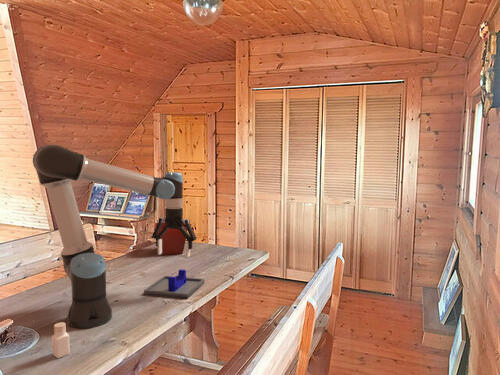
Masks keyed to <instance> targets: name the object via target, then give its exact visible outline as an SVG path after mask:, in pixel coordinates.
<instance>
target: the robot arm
mask: <svg viewBox="0 0 500 375" xmlns="http://www.w3.org/2000/svg"><path fill="white" fill-rule="evenodd" d="M32 165H33V167H34V169H35V171H36V174H37V176H38V177H37V178H38V180H39V184H40V186H42V187H43V188H46V191H47V195H48V198H49V202H50V205H51V208H52V211H53V217H54V219H55V223H56V225H57V229H58V233H59V236H60V240H61V243H62V246H63V247H62V250H61V251H60V255H61V258H62V262H63V270H64V273H65V274H66V275H67V277H68V278H69V280H70V282H71V304H70V307H69V311H68V314H67V324H68V326H69V327H72V328H75V329H76V328H77V329H89V328H94V327H98V326H102V325H103V324H106V323H107V322H109V321H111V319H112V318H113V309H112V308H111V305H110V302H109V299H108V297H107V275H106V272H107V271H106V267H107V263H106V260H105V257H104V256H103V255H101V254H100V253H95V249H94V245H93V243H92V242H90V241H88V239H87V236H86V232H85V229H84V225H83V222H82V217H81V213H80V211H79V206H78V203H77V200H76V195H75V193H74V188H73V185H72V181H75V182H78V181H80V180H83V181H86V182H87V181H88V182H91V183H97V184H100V185H104V186H109V187H111V188H112V187H114V188H117V189H120V190H121V189H122V190H124V191H125V190H126V191H130V192H134V193H137V194H138V196H145V197H147V196H150V197H152V198H153V197H154V198H158V199H161V200H165V203H164V207H165V209H164V210H165V212H164V213H165V214H164V215H165V218H164V217H163V216H162V217H159V218H158V222H157V223H158V224H157V226H156V229H155V231H154V230H153V232H152V236H151V238H152V239H154V240H155V247H157V255H160V256H161V254H162V239H160V238H161V237H162V236H163V234H164V233H165V232H166V231H167V230H168V228H170V229H178V230H180V231H181V233H182V234H183V235H184V237H185V238H186V242H185V246H186V248H185V249H186V251H185V252H186V256H185V257H186V258H188V257H190V256H191V250H192V249H193V242H194V241H197V236H196V234H195V232H194V230H193V227H192V225H191V223H190V222H191V221H190V218H187V219H186V218H185V219H183V217H184V215H183V214H184V213H183V207H184V206H183V204H184V201H183V200H184V199H183V193H184V192H183V191H184V190H183V189H184V188H183V187H184V185H183V184H184V179H183V173H181V172H176V171H175V172H173V171H172V172H169V171H168V172H166V173H165V174H164V176H162V177H155V176H153V175H148V174H146V173H140V172H137V171H134V170H131V169H127V168H122V167H119V166H117V165H111V164H108V163H105V162H101V161H96V160H93V159H90V158H87V157H86V155H85V154H84V153H79V152H75V151H73V150H71V149H68V148H67V147H64V146H62V145H60V144H59V145H58V144H46V145H43V146H40V147H39V148H38V149H37V150H35V152H34V154H33V157H32ZM164 222H165V223H166V225H165V227H164V228H163V230H162V231H161V232H160V233H159V230H160V228H161V226H162V224H163V223H164ZM182 223H184V224H185V226H186V228H187V231H186V230H185V229H184V226H183V225H182ZM158 233H159V234H158ZM157 235H158V236H157Z"/></svg>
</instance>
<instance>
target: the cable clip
mask: <svg viewBox="0 0 500 375" xmlns="http://www.w3.org/2000/svg"><path fill="white" fill-rule="evenodd" d="M186 278H187V269H178V274H177V275H176V276H173V277H168V291H174V292H175V291H176V290H178V289H179V288H180V287H181V286H183V285H184V284H185V283H186Z"/></svg>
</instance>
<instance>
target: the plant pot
mask: <svg viewBox="0 0 500 375" xmlns="http://www.w3.org/2000/svg"><path fill="white" fill-rule="evenodd" d="M157 224H158V222H155V223H154V227H153V232H154V231H155V229H156V226H157ZM165 225H166V223H165V221H164V223H163V224H162V226H161V228H160V230H159V233H160V232H161V231H162V230H163V228H164V227H165ZM182 225H183V226H184V229H185V230H186V231H187V232H188V230H187V228H186V226H185V224H184V223H182ZM159 233H158V234H159ZM157 236H158V235H157ZM160 239H162V254H160V256H168V255H170V256H171V255H182V254H183V253H184V250H185V246H186V242H187V239H186V238H185V237H184V235H183V234H182V233H181V231H180V230H178V229H170V228H168V230H167V231H166V232H165V233H164V234H163V236H162V237H161V238H160Z"/></svg>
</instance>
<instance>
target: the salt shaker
mask: <svg viewBox="0 0 500 375" xmlns="http://www.w3.org/2000/svg"><path fill="white" fill-rule="evenodd" d="M66 325H67V324H66V323H65V322H57V323H55V324H54V325H53V331H54V334H52V336H51V348H52V349H51V350H52V355H53V356H54V357H55V358H57V359H60V358H62V357H65V356H69V355H70V353H71V349H70V348H71V347H70V346H71V345H70V334H69V333H68V332H67V331H66V330H67V328H66V327H67V326H66Z"/></svg>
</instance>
